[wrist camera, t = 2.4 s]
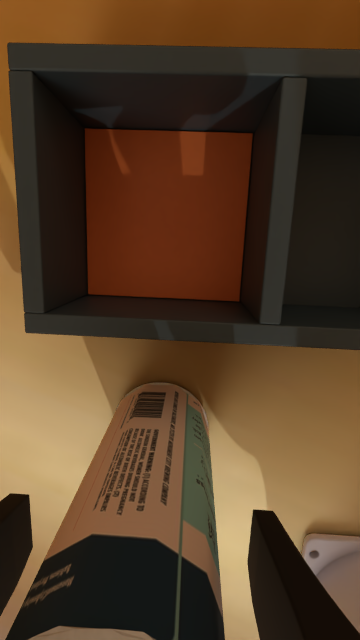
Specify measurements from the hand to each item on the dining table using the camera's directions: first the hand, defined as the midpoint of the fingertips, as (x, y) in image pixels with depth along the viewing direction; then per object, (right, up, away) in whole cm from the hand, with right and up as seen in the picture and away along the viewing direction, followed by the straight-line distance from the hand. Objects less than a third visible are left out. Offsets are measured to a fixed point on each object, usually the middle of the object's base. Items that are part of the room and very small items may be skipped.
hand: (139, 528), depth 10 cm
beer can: (0, +1, +7) cm, 7 cm away
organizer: (+5, +11, +4) cm, 13 cm away
